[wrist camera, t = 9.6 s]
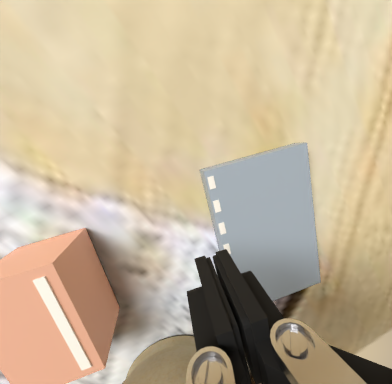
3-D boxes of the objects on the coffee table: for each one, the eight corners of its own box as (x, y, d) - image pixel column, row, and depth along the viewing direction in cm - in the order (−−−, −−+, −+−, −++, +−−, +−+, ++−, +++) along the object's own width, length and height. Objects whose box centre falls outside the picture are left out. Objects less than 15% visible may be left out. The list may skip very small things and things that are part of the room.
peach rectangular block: (85, 227, 15) (51, 264, 10) (119, 307, 17) (104, 370, 12) (17, 247, 15) (-54, 296, 10) (61, 328, 17) (21, 402, 12)
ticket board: (294, 143, 17) (307, 142, 16) (309, 273, 21) (321, 282, 19) (199, 169, 16) (203, 171, 15) (232, 302, 20) (238, 315, 18)
